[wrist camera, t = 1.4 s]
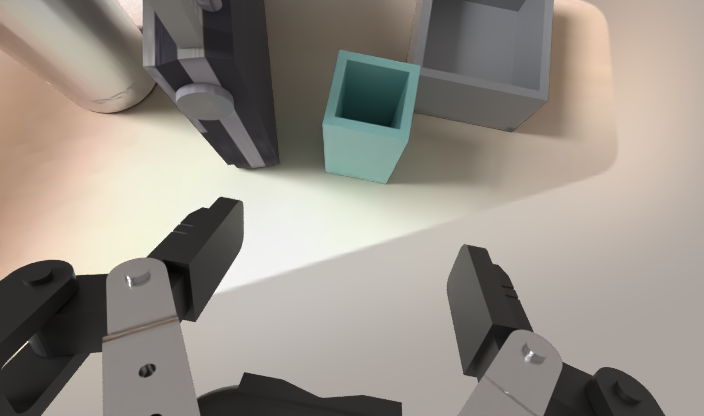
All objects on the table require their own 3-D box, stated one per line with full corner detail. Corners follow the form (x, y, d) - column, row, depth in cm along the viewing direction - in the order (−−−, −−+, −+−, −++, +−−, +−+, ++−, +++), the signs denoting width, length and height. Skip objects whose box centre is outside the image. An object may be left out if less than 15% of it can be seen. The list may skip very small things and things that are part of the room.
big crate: (511, 131, 35) (547, 100, 29) (398, 109, 35) (411, 73, 29) (521, 13, 38) (555, -37, 32) (418, -9, 38) (433, -62, 32)
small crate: (385, 183, 33) (408, 140, 23) (325, 172, 33) (322, 123, 23) (395, 128, 34) (420, 65, 24) (337, 116, 34) (339, 49, 24)
